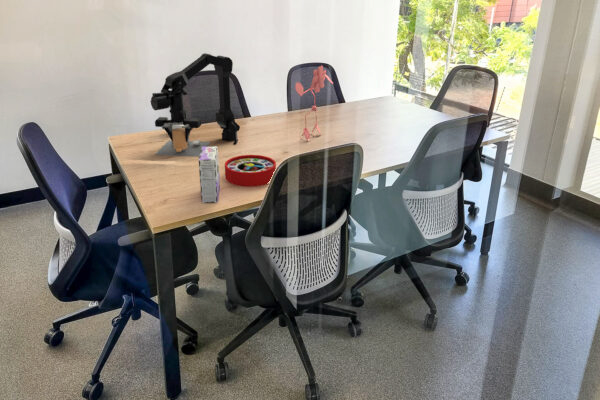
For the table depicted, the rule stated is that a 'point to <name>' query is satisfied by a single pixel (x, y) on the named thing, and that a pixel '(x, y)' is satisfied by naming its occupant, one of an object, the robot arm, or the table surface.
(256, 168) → the toy clock
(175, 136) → the tan rounded piece
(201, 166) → the candy box
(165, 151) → the stand
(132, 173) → the table surface
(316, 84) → the figurine
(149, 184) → the table surface
